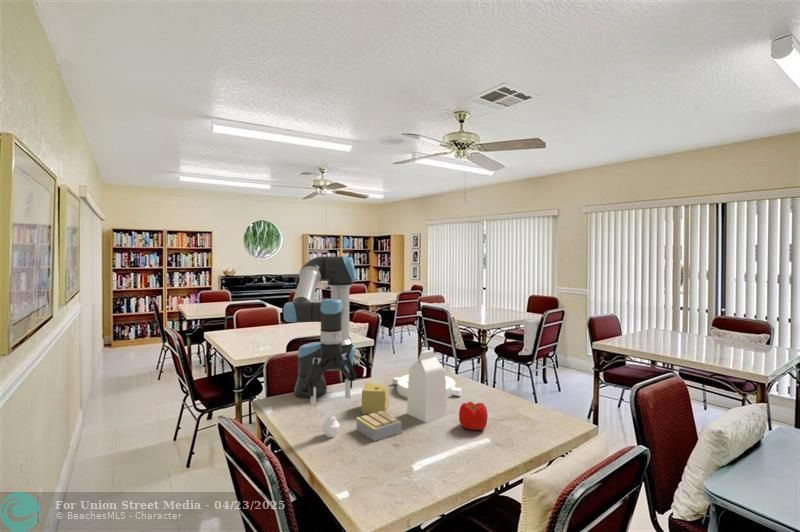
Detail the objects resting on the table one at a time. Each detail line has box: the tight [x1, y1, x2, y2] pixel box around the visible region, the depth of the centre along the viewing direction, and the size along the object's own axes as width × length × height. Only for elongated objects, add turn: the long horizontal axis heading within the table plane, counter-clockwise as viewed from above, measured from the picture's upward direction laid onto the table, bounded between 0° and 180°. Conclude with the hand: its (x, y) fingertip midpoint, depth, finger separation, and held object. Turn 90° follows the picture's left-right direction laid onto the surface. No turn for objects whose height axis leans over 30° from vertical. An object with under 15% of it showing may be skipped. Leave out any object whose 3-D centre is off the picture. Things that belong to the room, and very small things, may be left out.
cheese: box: [361, 382, 390, 415], centre depth 168 cm, size 10×11×10 cm
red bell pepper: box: [458, 401, 489, 431], centre depth 152 cm, size 11×12×9 cm
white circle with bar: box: [392, 373, 463, 399], centre depth 194 cm, size 28×28×5 cm
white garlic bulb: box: [321, 415, 341, 438], centre depth 144 cm, size 6×6×7 cm
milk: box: [406, 349, 448, 423], centre depth 164 cm, size 12×12×26 cm
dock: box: [356, 411, 402, 442], centre depth 148 cm, size 12×12×5 cm
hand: (330, 401), depth 143 cm, fingers open, 13 cm apart
